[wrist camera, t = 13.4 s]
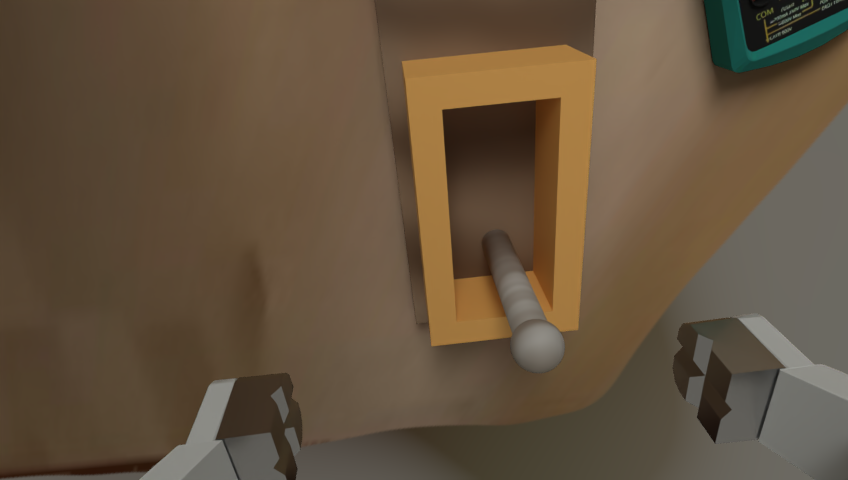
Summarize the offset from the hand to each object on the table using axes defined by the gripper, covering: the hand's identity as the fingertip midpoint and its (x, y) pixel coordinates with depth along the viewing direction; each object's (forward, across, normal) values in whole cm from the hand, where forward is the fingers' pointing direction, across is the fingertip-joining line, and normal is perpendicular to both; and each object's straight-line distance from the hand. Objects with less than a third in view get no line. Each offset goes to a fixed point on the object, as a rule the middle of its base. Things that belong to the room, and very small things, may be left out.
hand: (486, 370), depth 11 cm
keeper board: (+19, -3, +1) cm, 19 cm away
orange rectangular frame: (+17, -3, +4) cm, 18 cm away
